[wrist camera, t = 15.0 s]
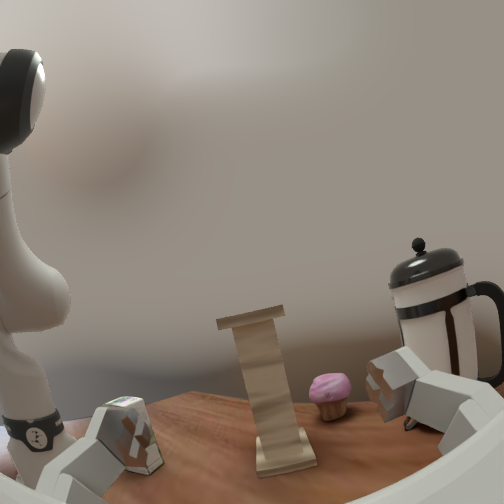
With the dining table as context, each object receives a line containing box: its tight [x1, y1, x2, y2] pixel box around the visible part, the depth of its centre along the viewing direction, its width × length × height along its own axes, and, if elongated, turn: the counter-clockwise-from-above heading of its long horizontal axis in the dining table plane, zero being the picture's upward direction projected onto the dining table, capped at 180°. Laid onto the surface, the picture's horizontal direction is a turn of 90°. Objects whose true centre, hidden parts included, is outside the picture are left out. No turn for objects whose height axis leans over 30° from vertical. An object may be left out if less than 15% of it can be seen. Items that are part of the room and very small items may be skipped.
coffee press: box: [388, 238, 504, 430], centre depth 31 cm, size 17×16×30 cm
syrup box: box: [102, 397, 164, 475], centre depth 36 cm, size 6×6×14 cm
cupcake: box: [309, 373, 351, 421], centre depth 47 cm, size 9×9×10 cm
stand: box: [216, 305, 317, 478], centre depth 39 cm, size 13×9×26 cm
